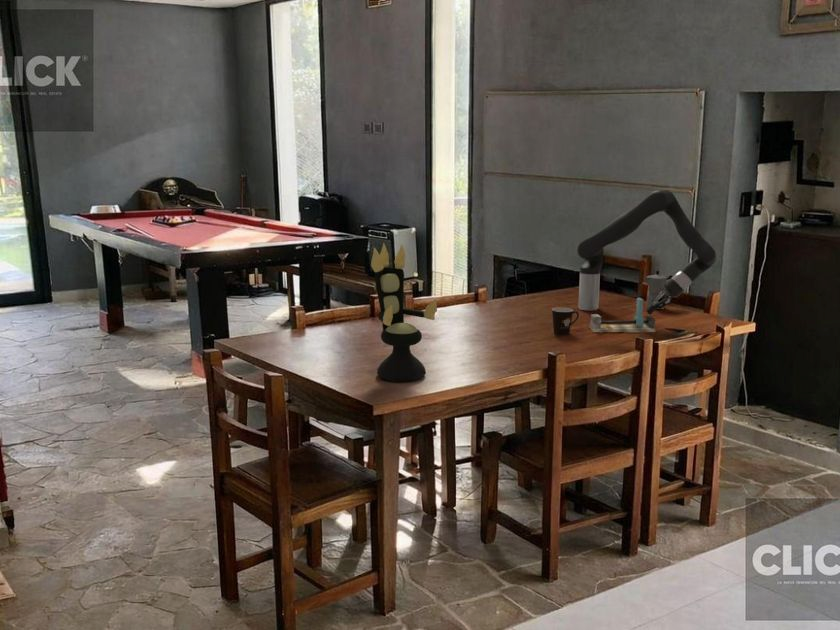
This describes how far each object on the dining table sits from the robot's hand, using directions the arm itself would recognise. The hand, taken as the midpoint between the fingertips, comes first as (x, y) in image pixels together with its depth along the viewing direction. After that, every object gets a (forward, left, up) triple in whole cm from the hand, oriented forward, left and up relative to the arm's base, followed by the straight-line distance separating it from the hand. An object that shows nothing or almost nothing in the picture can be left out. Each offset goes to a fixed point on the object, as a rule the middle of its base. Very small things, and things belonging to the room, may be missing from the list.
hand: (647, 312), depth 357 cm
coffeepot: (-48, -4, -8) cm, 48 cm away
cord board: (+5, -9, -7) cm, 13 cm away
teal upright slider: (+2, -3, -5) cm, 7 cm away
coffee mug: (+21, -29, -8) cm, 37 cm away
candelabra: (+106, -64, -8) cm, 124 cm away
